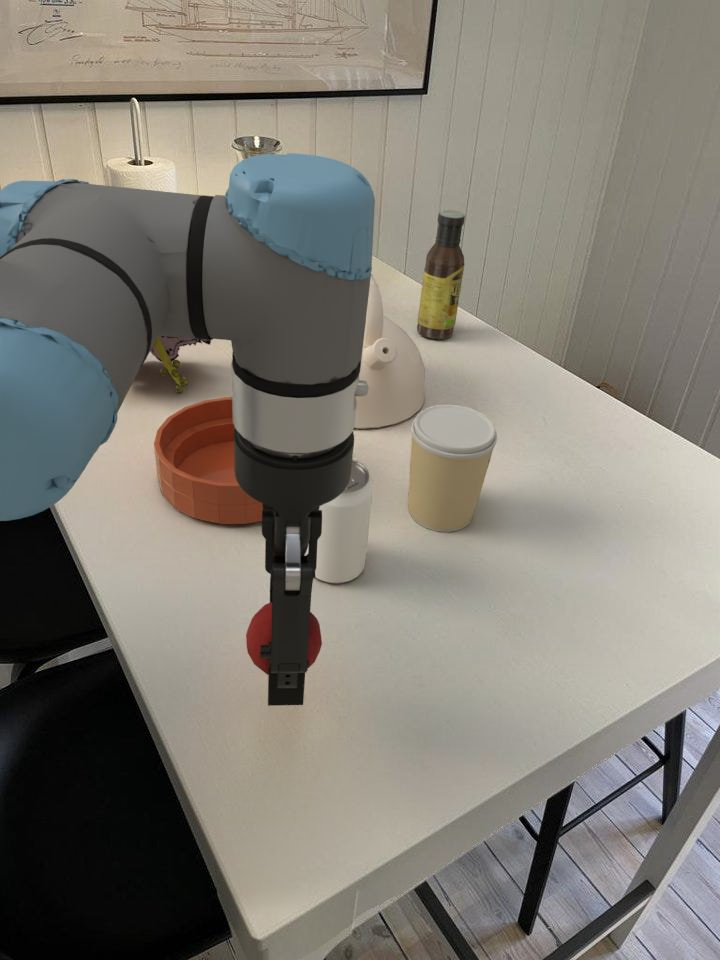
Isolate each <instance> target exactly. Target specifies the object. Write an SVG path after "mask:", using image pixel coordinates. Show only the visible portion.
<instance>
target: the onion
mask: <svg viewBox="0 0 720 960" xmlns="http://www.w3.org/2000/svg"><path fill="white" fill-rule="evenodd" d="M271 626H272V602H270V601H269V602H268V603H266V604H264V605H263V606H262V607H260V609H259V610H258V611H257V612H256V613H255V614H254V615H253V616H252V617H251V619H250V622H249V624H248V628H247V630H246V634H245V643H246V649H247V654H248V656H249V658H250V660H251V661H252V664H253V665H254V666H256V667H257V668H258V669H259V670H260V671H262V672H263V673H264V674H265V675H267V676H268V669H269V658H260V645H269V642H271ZM322 645H323V641H322V632H321V626H320V622H319V620H318V618H317V617H316V616H315V614H313V613H312V611H310V624H309V641H308V660H309V667H308V669H310V667H311V666H313V664H315V663H316V661H317V659H318V656H319V654H320V652H321V648H322Z"/></svg>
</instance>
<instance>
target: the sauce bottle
mask: <svg viewBox="0 0 720 960" xmlns="http://www.w3.org/2000/svg"><path fill="white" fill-rule="evenodd" d="M465 217H466V216H465V213H462V212H461V211H458V210H452V209H443V210H441V211H439V212H438V215H437V224H438V225H437V233H436V237H435V243H434V244H433V245H432V247H431V248H430V249H429V251H428V252H427V254H426V258H425V265H424V270H423V277H422V284H421V292H420V299H419V306H418V313H417V314H418V316H417V327H416V328H417V332H418V334H419V335H420V336H422V337H424V338H428V339H432V340H444V339H448V338H449V337H451V336H452V335H453V334H454V329H455V328H454V327H455V326H456V321H457V314H458V309H459V308H458V307H459V301H460V295H461V291H462V290H461V288H462V283H463V278H464V277H463V276H464V270H465V255H464V253H463V251H462V249H461V246H460V244H461V237H462V231H463V226H464V224H465Z"/></svg>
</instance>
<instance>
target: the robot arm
mask: <svg viewBox="0 0 720 960" xmlns="http://www.w3.org/2000/svg"><path fill="white" fill-rule="evenodd" d="M230 171H231V172H230V174H229V179H228V188H227V189H226V191H225V194H224V195H223V194H215V195H214V196H213V195H205V194H203V195H200V194H192V193H191V194H190V193H183V192H173V191H162V190H155V189H154V190H152V189H143V188H135V187H134V188H133V187H122V186H114V185H106V184H105V185H104V184H95V183H94V184H93V183H89V181H84V180H78V179H75V178H66V179H64V178H63V179H60V180H18V181H14V182H11V183H9V184H7V185H5V186H3V188H1V189H0V522H1V521H2V522H6V521H7V522H8V521H13V520H14V521H15V520H21V519H24V518H29V517H32V516H35V515H37V514H40V513H41V512H45V511H46V510H47V509H49V508H51V507H52V506H54V505H56V504H57V503H58V502H60V501H61V500H62V499H63V498H64V497H65V496H66V495H68V493H69V492H70V491H71V490H72V488H73V487H74V486H75V484H76V483H77V482H78V480H79V479H80V477H81V476H82V474H83V472H84V471H85V469H86V468H87V466H88V464H89V463H90V462H91V460H92V458H93V457H94V455H95V454H96V452H97V451H98V449H99V448H100V447H101V446H102V445H104V444H105V443H107V442H108V441H109V439H110V437H111V435H112V433H113V431H114V430H115V427H116V425H117V421H118V413H119V411H120V410H121V407H122V404H123V403H124V401H125V398H126V397H127V395H128V392H129V391H130V388H131V386H132V385H133V383H134V381H135V378H136V376H137V374H138V373H139V372H140V370H141V369H142V367H143V365H144V363H145V361H146V359H147V358H148V356H149V354H150V353H151V352H150V350H151V349H152V347H153V345H154V343H155V341H156V339H157V338H158V336H168V337H179V338H191V339H205V340H211V341H212V340H220V341H221V340H225V341H231V342H230V343H231V348H232V359H231V366H230V367H231V370H230V371H231V397H232V411H233V424H234V426H235V430H234V471H235V477H236V480H237V482H238V484H239V486H240V487H241V488H242V489H243V491H244V492H245V493H246V494H248V495H249V496H250V497H252V498H253V499H255V500H257V501H259V502H261V503H263V509H262V521H261V536H262V537H263V538H264V540H265V544H264V545H265V548H264V549H265V551H264V552H265V553H264V569H265V572H266V573H268V574H270V578H269V603H270V602H272V626H271V642H269V645H260V658H269V669H268V675H267V679H268V680H267V706H268V707H274V706H275V707H276V706H277V707H278V706H280V707H281V706H304V698H305V682H306V673H307V672H308V670H309V668H310V667H309V660H308V641H309V624H310V612H311V607H312V606H311V604H312V591H313V584H314V579H315V578H316V577H315V570H316V564H317V541H318V539H319V537H320V536H321V533H322V510H319V508H320V506H321V505H323V504H326V503H328V502H330V501H332V500H334V499H335V498H337V497H338V496H339V495H340V494H341V493H342V492H343V491H344V490H345V488H346V487H347V485H348V483H349V481H350V477H351V468H352V460H353V456H354V446H355V434H354V429H355V428H354V426H355V418H356V407H357V403H356V398H355V396H366V395H367V393H368V389H369V387H368V384H367V382H366V381H363V380H359V373H360V368H361V359H362V350H363V341H364V332H365V323H366V314H367V305H368V296H369V287H370V278H371V274H372V270H373V268H372V267H373V266H372V265H373V243H374V227H375V226H374V223H375V203H376V202H375V201H376V200H375V199H376V197H375V194H374V190H373V188H372V185H371V184H370V182H369V180H368V179H367V177H365V176H364V174H363V173H361V171H359V170H358V169H356V168H355V167H353V166H351V165H350V164H347V163H344V162H343V161H339V160H338V159H333V158H331V157H326V156H320V155H314V154H306V153H295V152H290V153H287V154H276V153H264V154H258V155H253V156H249V157H246V158H244V159H243V160H241V161H239V162H237V163H236V164H235V165H234V166H233V168H232V170H230ZM308 544H309V552H308V554H307V555H306V556H305V553H306V551H307V548H308ZM308 667H309V668H308Z"/></svg>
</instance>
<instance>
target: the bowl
mask: <svg viewBox="0 0 720 960" xmlns="http://www.w3.org/2000/svg"><path fill="white" fill-rule="evenodd" d="M234 430H235V426H234V424H233V411H232V396H225V397H219V398H211V399H205V400H202V401H199V402H196V403H193V404H190V405H187V406H184V407H183V408H181V409H180V410H177V411H176V412H174V413H173V414H171V415H169V416H168V417H167V418H166V419H165V420H164V421H163V423H161V425H160V426H159V427H158V429H157V430H156V434H155V438H154V443H153V447H154V449H153V450H154V455H155V465H156V474H157V482H158V485H159V489H160V491H161V495H162V496H163V498H164V499H166V500H167V501H168V502H169V503H170V504H171V505H172V506H173V507H174V508H175V510H177V511H179V512H181V513H183V514H185V515H187V516H189V517H191V518H193V519H197V520H201V521H206V522H209V523H210V522H211V523H214V524H221V525H222V524H223V525H227V524H228V525H229V524H230V525H236V524H237V525H239V524H240V525H241V524H242V525H244V524H245V525H247V524H252V523H257V522H262V509H263V503H261V502H259V501H257V500H255V499H253V498H252V497H250V496H249V495H248V494H246V493H245V492H244V491H243V489H242V488H241V487H240V486H239V484H238V482H237V480H236V477H235V471H234Z"/></svg>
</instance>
